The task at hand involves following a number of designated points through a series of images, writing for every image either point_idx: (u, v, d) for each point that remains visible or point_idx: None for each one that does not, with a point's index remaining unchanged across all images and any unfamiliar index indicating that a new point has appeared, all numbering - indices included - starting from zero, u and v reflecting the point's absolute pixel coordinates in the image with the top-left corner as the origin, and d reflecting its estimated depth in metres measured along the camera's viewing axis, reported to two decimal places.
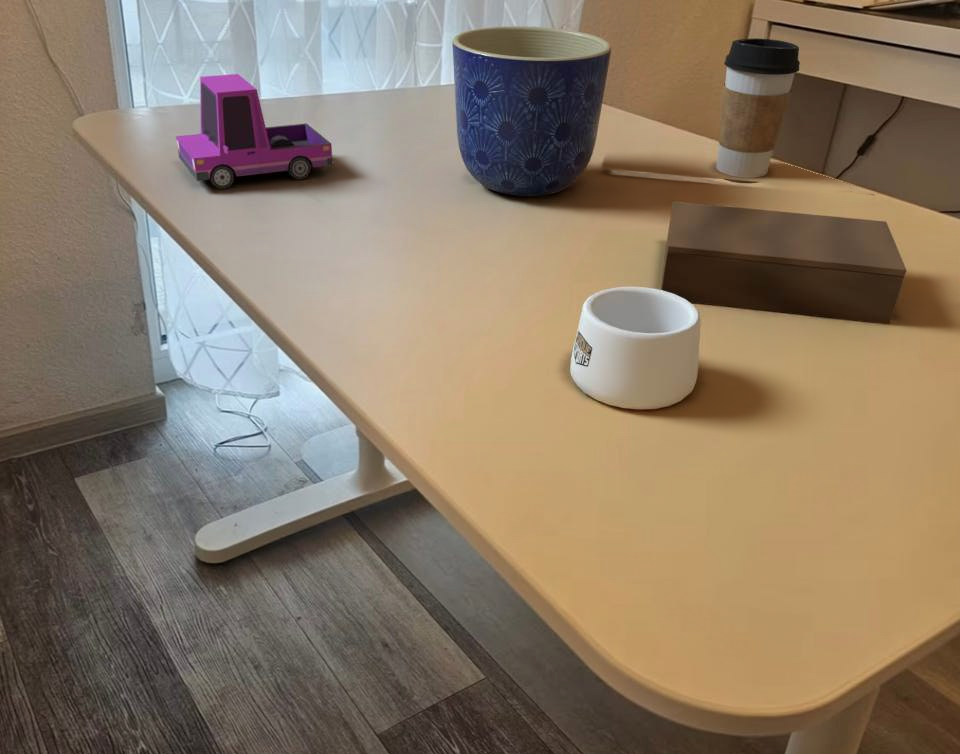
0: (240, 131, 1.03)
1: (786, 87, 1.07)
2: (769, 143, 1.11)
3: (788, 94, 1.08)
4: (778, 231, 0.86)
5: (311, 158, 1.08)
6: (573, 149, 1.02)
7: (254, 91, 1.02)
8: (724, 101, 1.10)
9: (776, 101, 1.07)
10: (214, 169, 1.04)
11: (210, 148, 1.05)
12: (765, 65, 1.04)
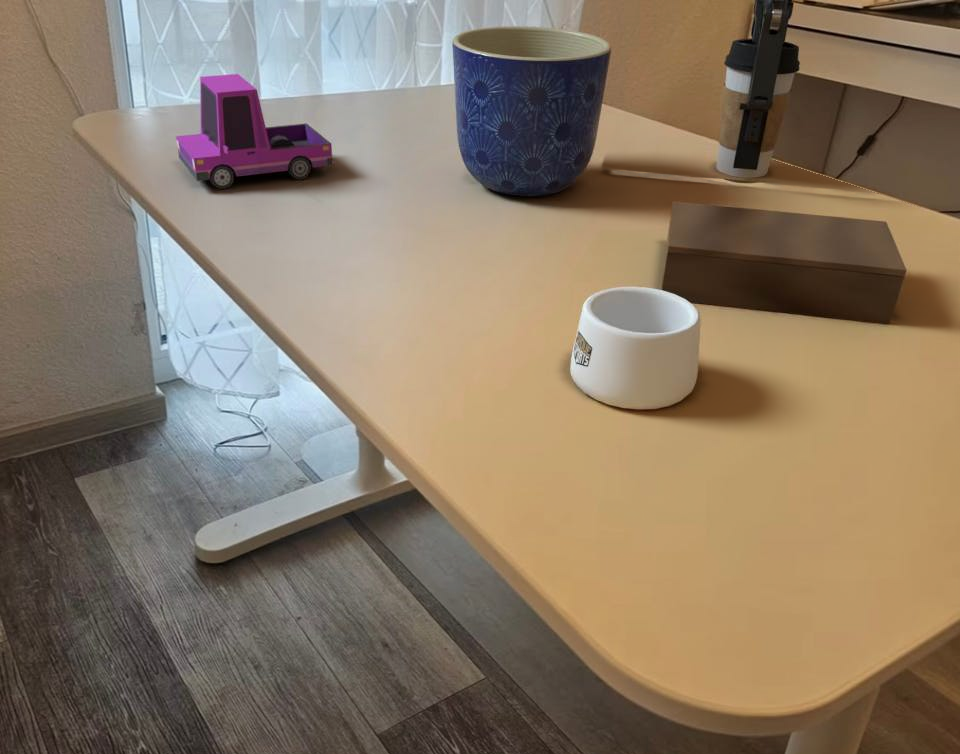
0: (240, 130, 1.03)
1: (786, 87, 1.07)
2: (769, 143, 1.11)
3: (788, 94, 1.08)
4: (778, 231, 0.86)
5: (311, 158, 1.08)
6: (573, 149, 1.02)
7: (254, 91, 1.02)
8: (724, 101, 1.10)
9: (776, 101, 1.07)
10: (214, 169, 1.04)
11: (210, 148, 1.05)
12: None
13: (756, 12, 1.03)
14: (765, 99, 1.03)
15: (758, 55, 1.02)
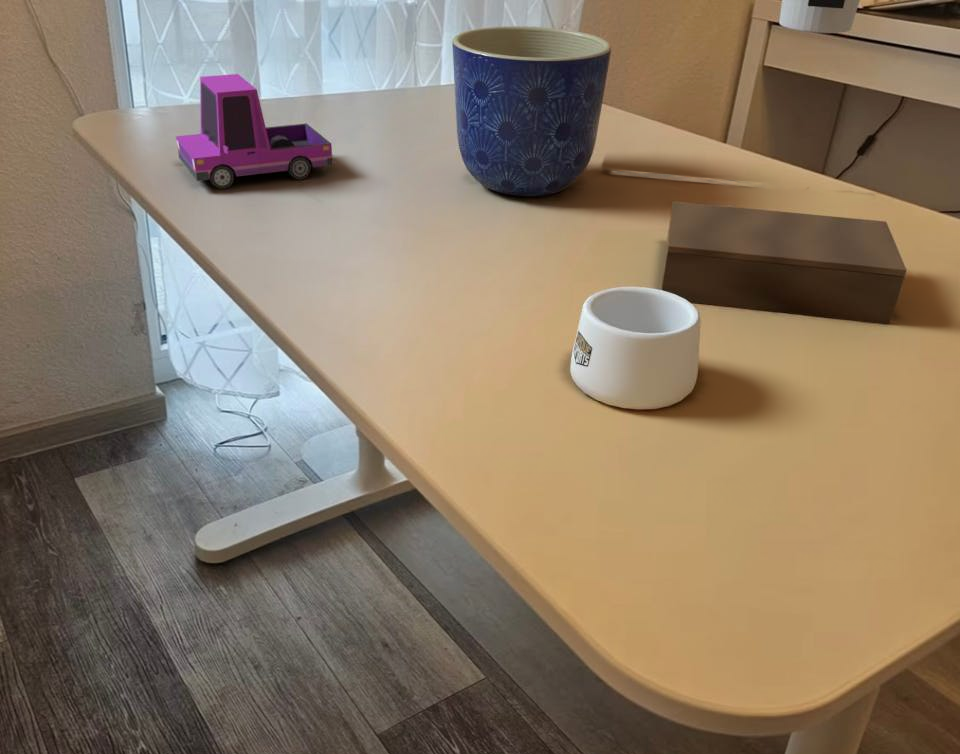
0: (240, 130, 1.03)
1: None
2: None
3: None
4: (778, 231, 0.86)
5: (311, 158, 1.08)
6: (573, 149, 1.02)
7: (254, 91, 1.02)
8: None
9: None
10: (214, 169, 1.04)
11: (210, 148, 1.05)
12: None
13: None
14: None
15: None
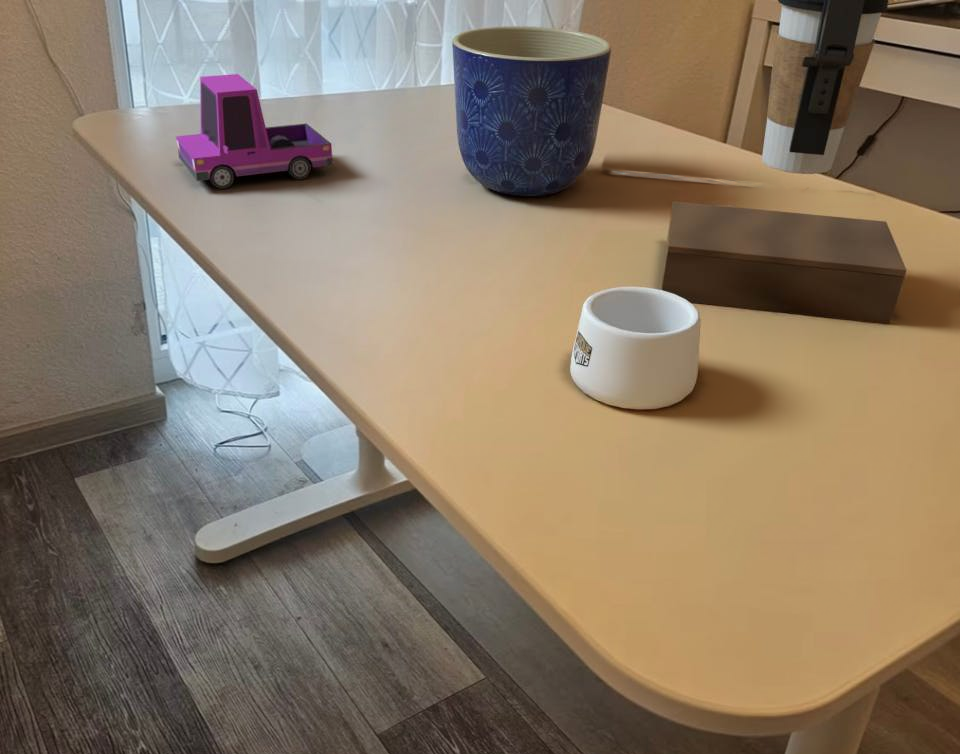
0: (240, 130, 1.03)
1: (869, 34, 0.74)
2: (840, 117, 0.78)
3: (871, 45, 0.75)
4: (778, 231, 0.86)
5: (311, 158, 1.08)
6: (573, 149, 1.02)
7: (254, 91, 1.02)
8: (777, 56, 0.77)
9: (854, 54, 0.74)
10: (214, 169, 1.04)
11: (210, 148, 1.05)
12: None
13: None
14: (843, 50, 0.70)
15: None
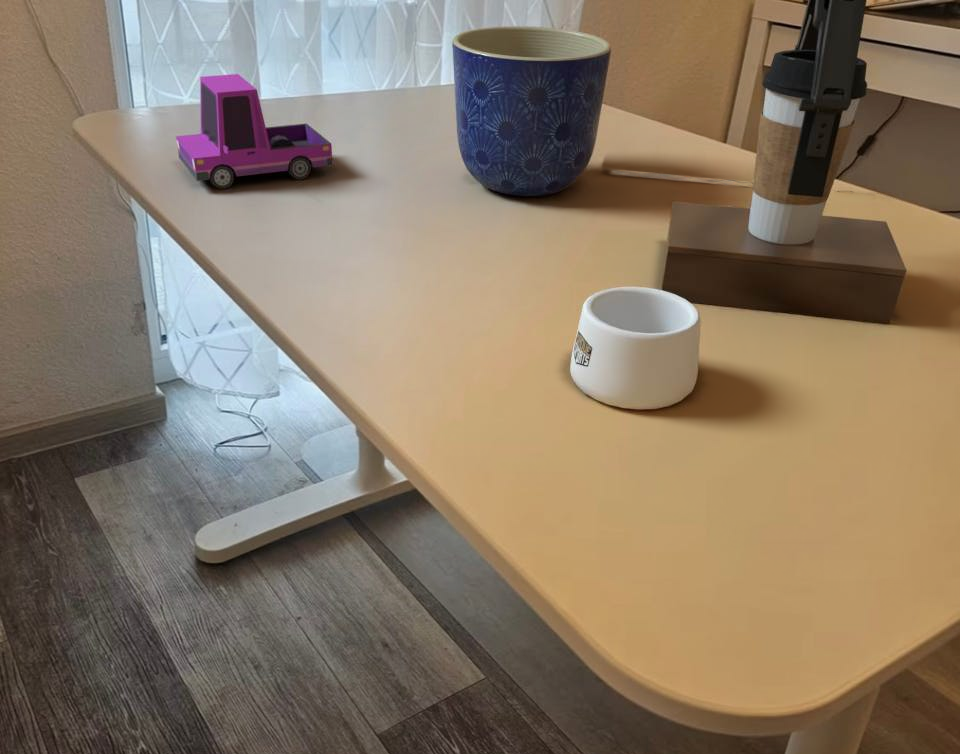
0: (240, 130, 1.03)
1: (848, 117, 0.78)
2: None
3: (851, 126, 0.78)
4: None
5: (311, 158, 1.08)
6: (573, 149, 1.02)
7: (254, 91, 1.02)
8: (762, 135, 0.81)
9: None
10: (214, 169, 1.04)
11: (210, 148, 1.05)
12: None
13: None
14: (840, 95, 0.70)
15: (828, 30, 0.69)
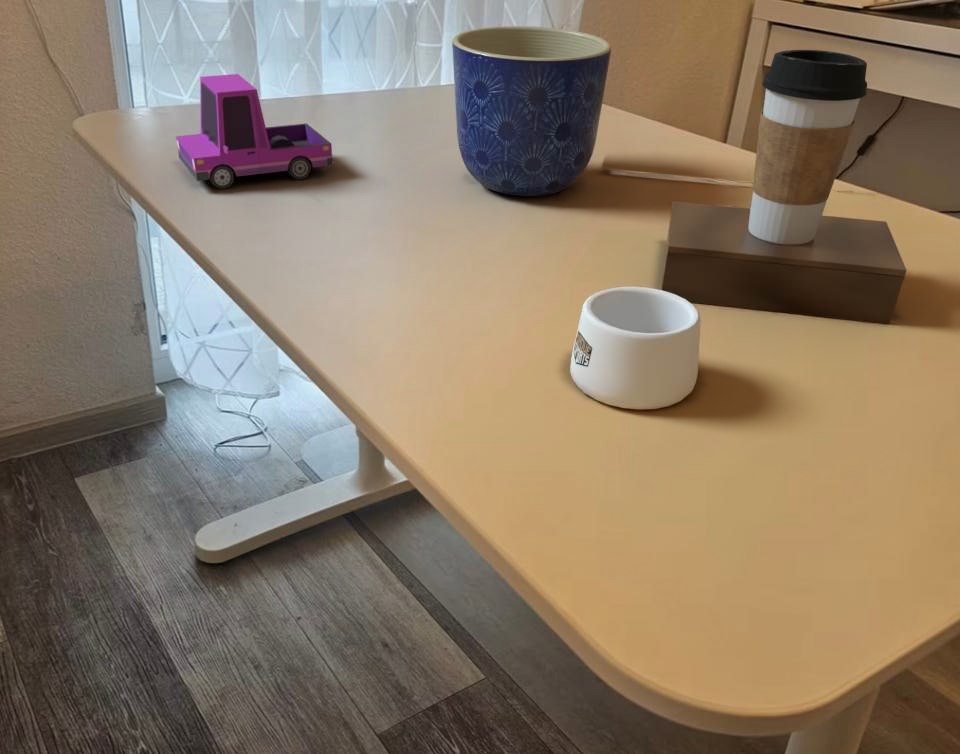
0: (240, 130, 1.03)
1: (848, 117, 0.78)
2: (822, 193, 0.81)
3: (851, 127, 0.78)
4: None
5: (311, 158, 1.08)
6: (573, 149, 1.02)
7: (254, 91, 1.02)
8: (762, 135, 0.81)
9: (835, 136, 0.78)
10: (214, 169, 1.04)
11: (210, 148, 1.05)
12: (821, 87, 0.75)
13: None
14: None
15: None
